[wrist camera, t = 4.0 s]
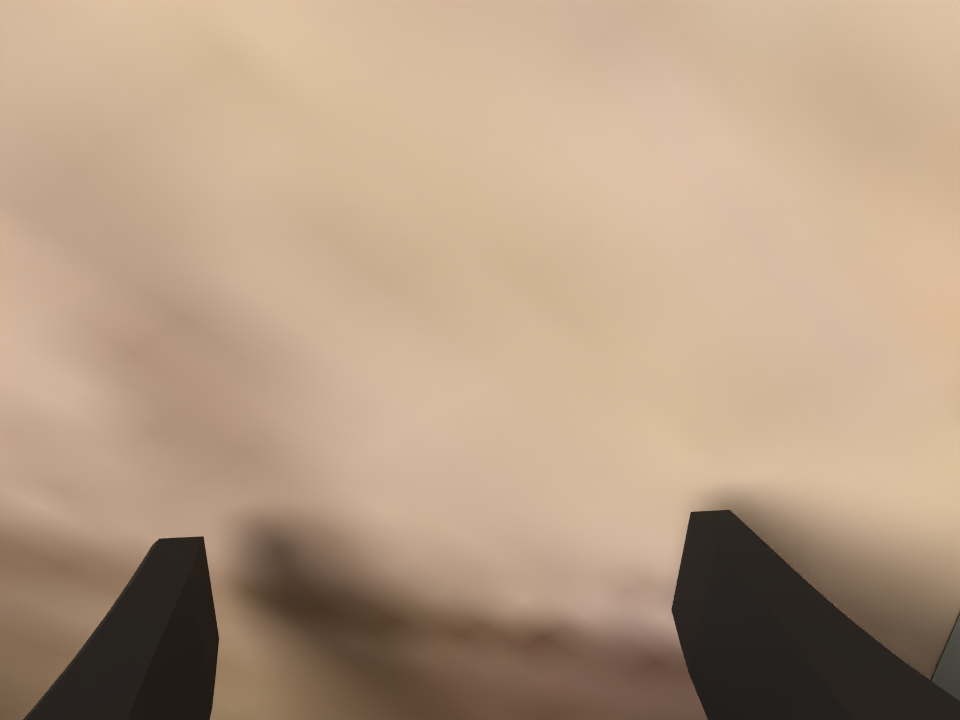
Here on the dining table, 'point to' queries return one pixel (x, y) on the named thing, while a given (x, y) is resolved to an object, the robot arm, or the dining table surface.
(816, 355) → the dining table surface
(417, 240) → the dining table surface
